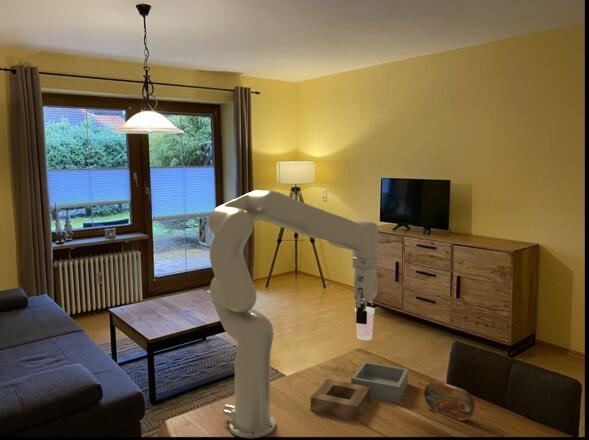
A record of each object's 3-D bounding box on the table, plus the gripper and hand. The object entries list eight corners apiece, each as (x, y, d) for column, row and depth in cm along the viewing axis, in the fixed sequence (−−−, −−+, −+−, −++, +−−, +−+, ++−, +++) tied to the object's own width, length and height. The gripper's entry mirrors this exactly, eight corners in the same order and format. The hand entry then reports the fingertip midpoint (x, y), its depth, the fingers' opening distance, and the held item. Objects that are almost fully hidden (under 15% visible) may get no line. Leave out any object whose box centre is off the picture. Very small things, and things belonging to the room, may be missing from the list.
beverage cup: (350, 338, 146) (350, 293, 145) (361, 332, 151) (361, 289, 149) (367, 342, 142) (368, 296, 141) (378, 337, 147) (378, 292, 145)
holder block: (310, 410, 138) (310, 397, 138) (326, 391, 151) (327, 378, 151) (357, 420, 133) (357, 406, 132) (370, 399, 145) (370, 387, 145)
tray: (351, 393, 149) (351, 378, 149) (363, 375, 163) (364, 361, 163) (398, 402, 143) (399, 387, 143) (408, 383, 157) (408, 369, 157)
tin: (423, 406, 142) (424, 378, 141) (429, 403, 144) (430, 376, 143) (470, 426, 130) (471, 396, 130) (476, 422, 133) (477, 393, 132)
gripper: (369, 268, 135) (369, 330, 136) (384, 258, 150) (383, 314, 152) (344, 266, 138) (344, 327, 140) (361, 257, 154) (360, 311, 155)
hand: (364, 319), depth 146 cm, fingers closed on beverage cup, 6 cm apart
